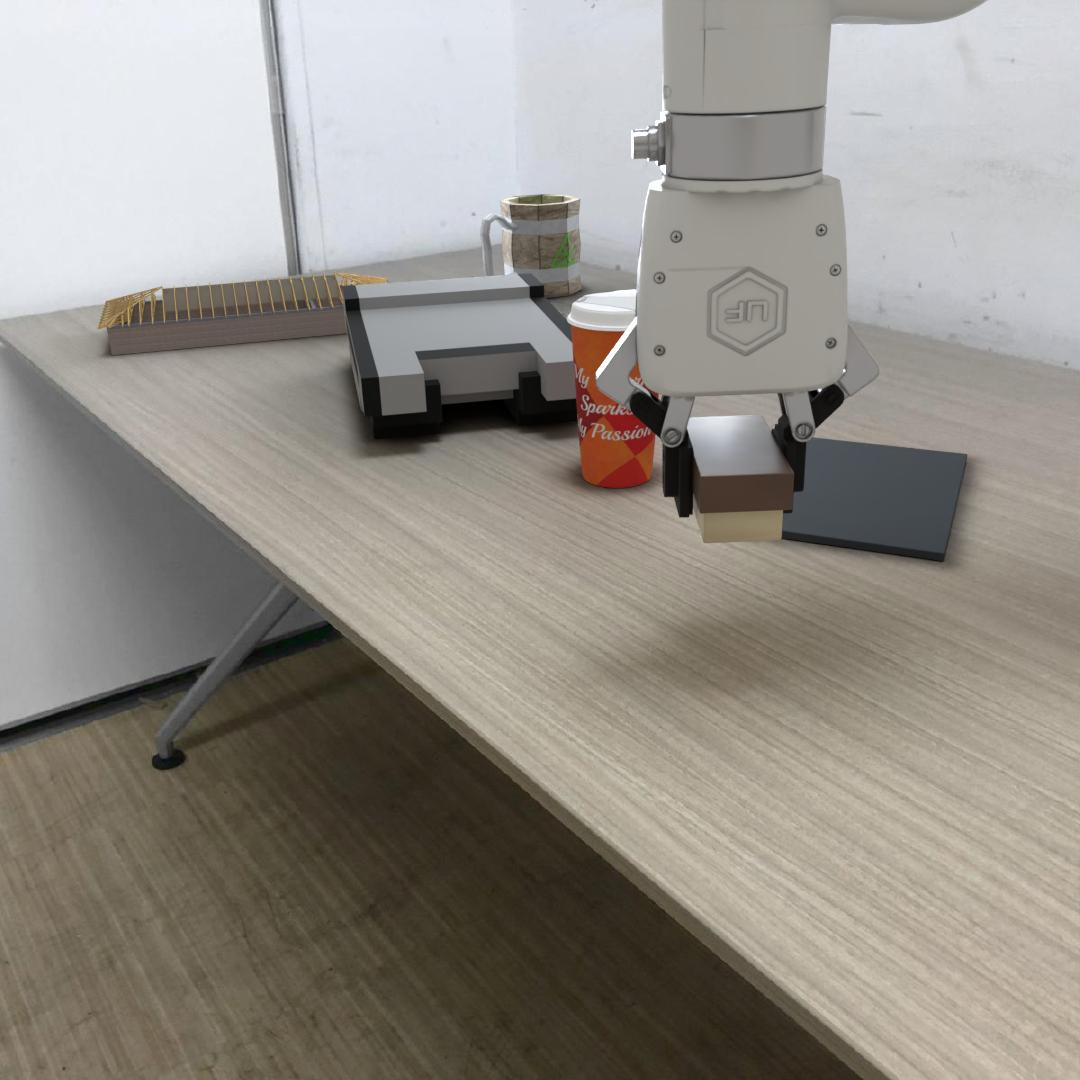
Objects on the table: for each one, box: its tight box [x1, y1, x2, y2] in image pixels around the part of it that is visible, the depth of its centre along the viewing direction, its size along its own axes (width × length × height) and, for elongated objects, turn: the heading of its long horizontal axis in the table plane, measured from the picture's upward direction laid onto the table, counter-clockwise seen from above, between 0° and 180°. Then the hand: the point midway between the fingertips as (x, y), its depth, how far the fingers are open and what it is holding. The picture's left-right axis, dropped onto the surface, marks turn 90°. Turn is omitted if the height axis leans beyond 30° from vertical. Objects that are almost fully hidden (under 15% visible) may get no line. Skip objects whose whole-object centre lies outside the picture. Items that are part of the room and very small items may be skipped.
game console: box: [341, 273, 578, 439], centre depth 109 cm, size 21×32×8 cm, turn 12°
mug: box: [479, 193, 583, 299], centre depth 150 cm, size 16×11×12 cm
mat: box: [782, 436, 968, 562], centre depth 84 cm, size 20×14×1 cm
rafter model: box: [96, 271, 391, 356], centre depth 136 cm, size 35×14×6 cm, turn 106°
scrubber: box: [687, 414, 794, 544], centre depth 59 cm, size 9×5×4 cm, turn 0°
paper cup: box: [566, 291, 660, 489], centre depth 86 cm, size 8×8×14 cm
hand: (731, 502), depth 60 cm, fingers closed on scrubber, 4 cm apart
